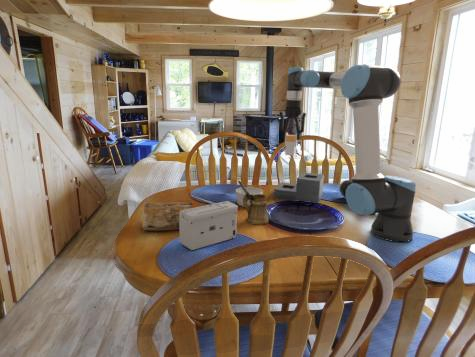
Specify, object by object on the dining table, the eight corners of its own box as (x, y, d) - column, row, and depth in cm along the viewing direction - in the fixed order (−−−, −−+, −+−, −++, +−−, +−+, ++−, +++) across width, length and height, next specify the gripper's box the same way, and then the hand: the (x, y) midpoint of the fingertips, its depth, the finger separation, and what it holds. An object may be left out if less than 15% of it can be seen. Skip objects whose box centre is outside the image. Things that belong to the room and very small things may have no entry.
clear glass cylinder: (293, 155, 170) (295, 136, 168) (285, 154, 172) (286, 135, 169) (295, 154, 174) (296, 135, 172) (287, 153, 176) (288, 134, 174)
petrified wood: (191, 218, 142) (192, 198, 137) (193, 236, 130) (194, 215, 126) (144, 219, 138) (144, 198, 134) (142, 237, 127) (141, 215, 122)
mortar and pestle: (236, 217, 146) (237, 177, 141) (266, 217, 146) (268, 177, 142) (237, 224, 137) (238, 182, 133) (269, 224, 138) (271, 183, 133)
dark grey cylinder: (365, 216, 151) (367, 194, 149) (336, 197, 178) (338, 179, 175) (383, 215, 153) (386, 193, 150) (353, 197, 180) (355, 178, 177)
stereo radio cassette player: (226, 231, 130) (227, 182, 125) (239, 238, 124) (240, 187, 119) (178, 244, 118) (177, 190, 113) (189, 253, 111) (189, 196, 106)
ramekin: (260, 199, 171) (260, 187, 169) (263, 208, 158) (264, 194, 156) (234, 199, 170) (235, 186, 168) (236, 208, 157) (236, 194, 155)
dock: (318, 204, 166) (320, 181, 163) (273, 198, 173) (274, 176, 170) (322, 195, 180) (324, 174, 177) (280, 190, 188) (282, 170, 185)
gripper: (312, 100, 167) (309, 146, 172) (278, 99, 173) (276, 143, 178) (310, 100, 160) (306, 148, 166) (275, 99, 166) (272, 145, 172)
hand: (290, 145), depth 172 cm, fingers closed on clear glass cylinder, 4 cm apart
